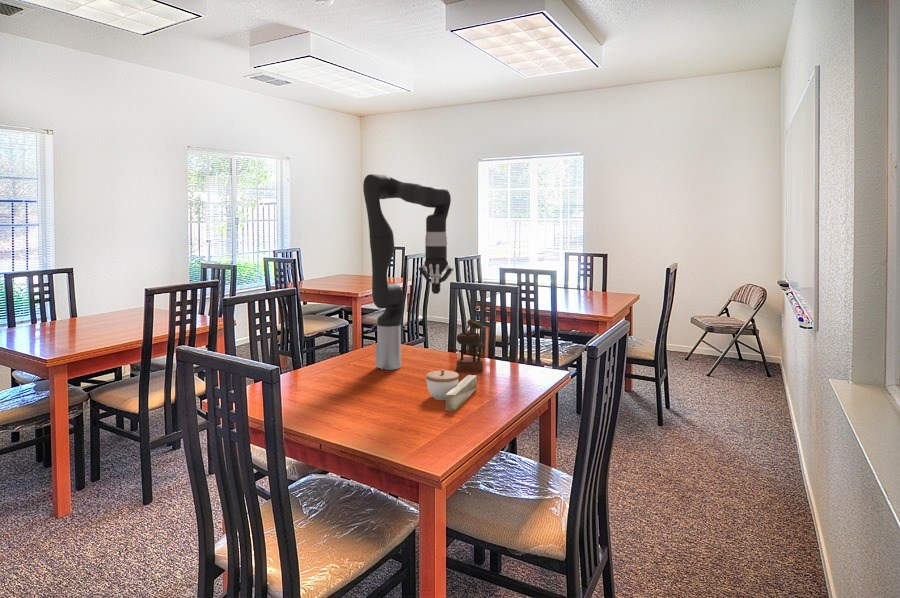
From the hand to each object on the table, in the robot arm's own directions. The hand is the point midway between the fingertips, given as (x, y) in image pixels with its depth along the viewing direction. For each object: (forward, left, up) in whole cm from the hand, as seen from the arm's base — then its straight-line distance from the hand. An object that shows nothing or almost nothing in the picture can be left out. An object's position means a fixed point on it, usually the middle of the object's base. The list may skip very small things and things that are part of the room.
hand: (436, 293), depth 206 cm
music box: (+6, +20, -32) cm, 38 cm away
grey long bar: (+15, -18, -32) cm, 40 cm away
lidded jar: (+9, -18, -32) cm, 38 cm away
